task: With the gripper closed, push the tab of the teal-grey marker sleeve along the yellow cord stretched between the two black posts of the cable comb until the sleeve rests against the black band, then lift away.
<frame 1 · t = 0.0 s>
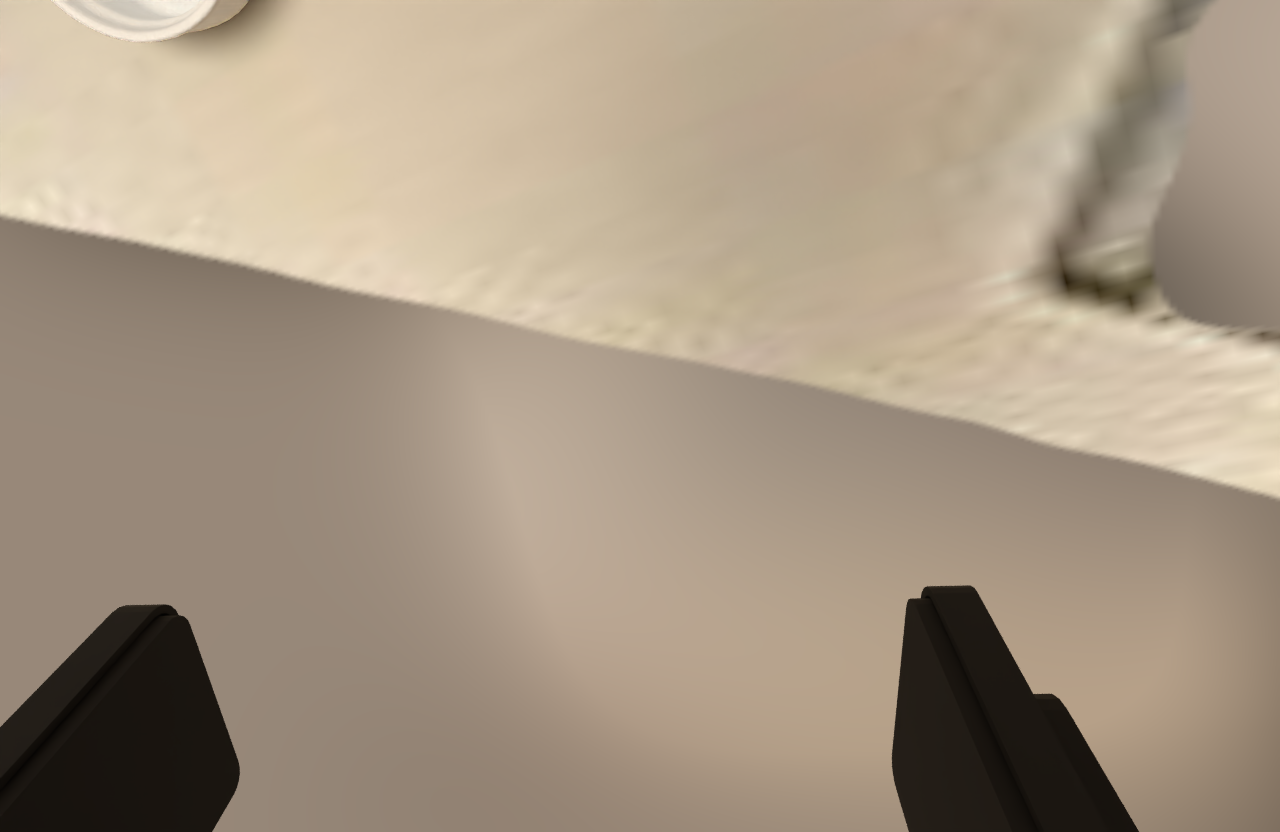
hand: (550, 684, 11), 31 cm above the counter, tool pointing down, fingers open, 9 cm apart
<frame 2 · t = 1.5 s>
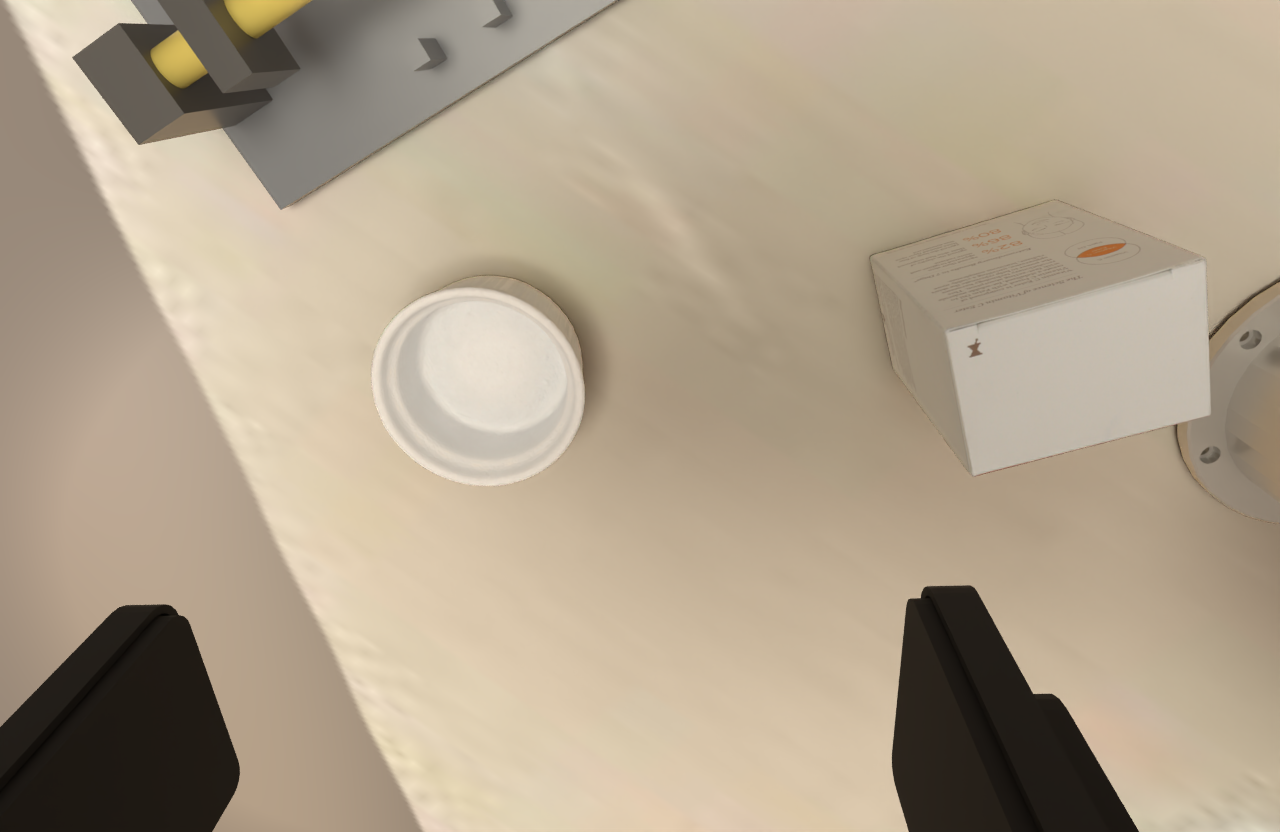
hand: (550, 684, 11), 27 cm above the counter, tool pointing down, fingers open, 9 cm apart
ramekin: (498, 354, 38), on the counter
small box: (969, 284, 36), on the counter
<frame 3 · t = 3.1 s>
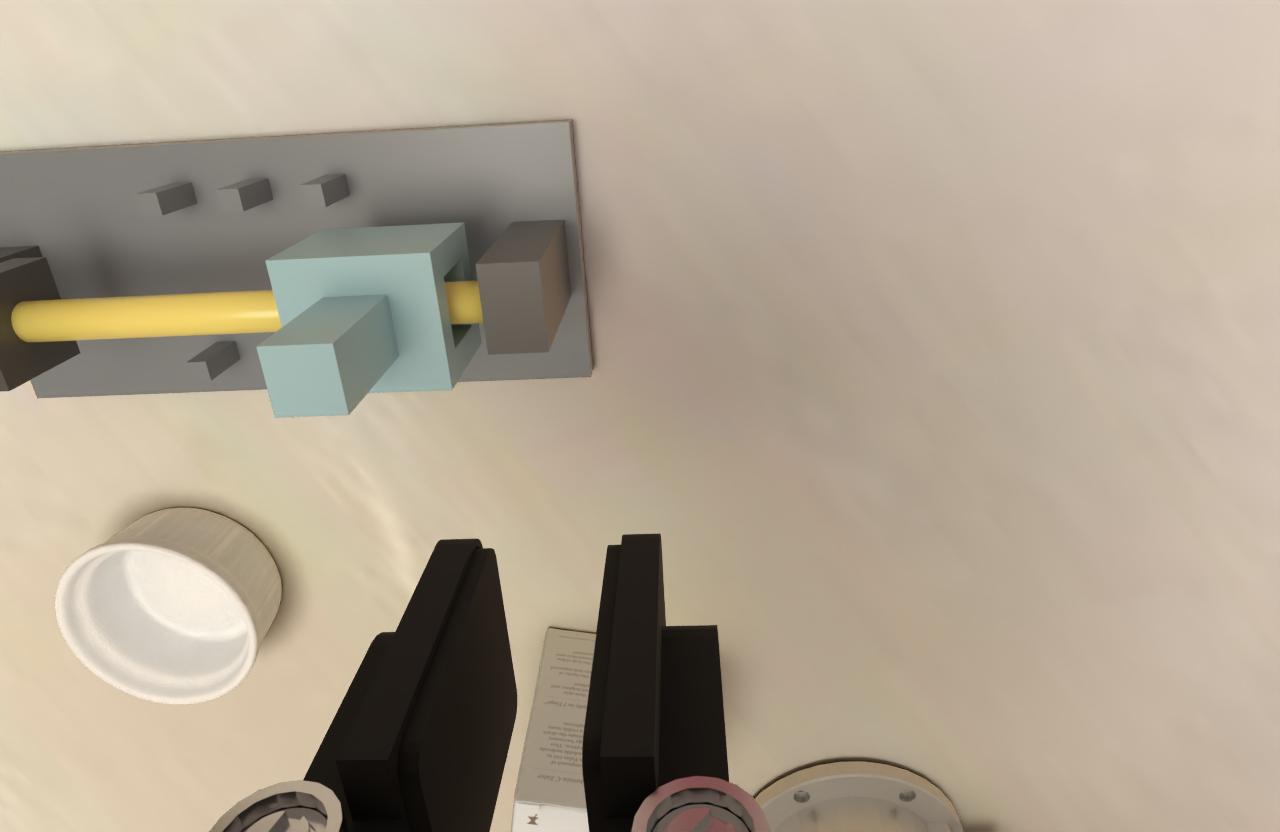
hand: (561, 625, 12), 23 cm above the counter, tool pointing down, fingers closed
cable comb: (291, 265, 34), on the counter
ramekin: (207, 569, 41), on the counter
marker sleeve: (361, 327, 25), point 9 cm above the counter, slide at 0.0 cm
small box: (619, 674, 42), on the counter
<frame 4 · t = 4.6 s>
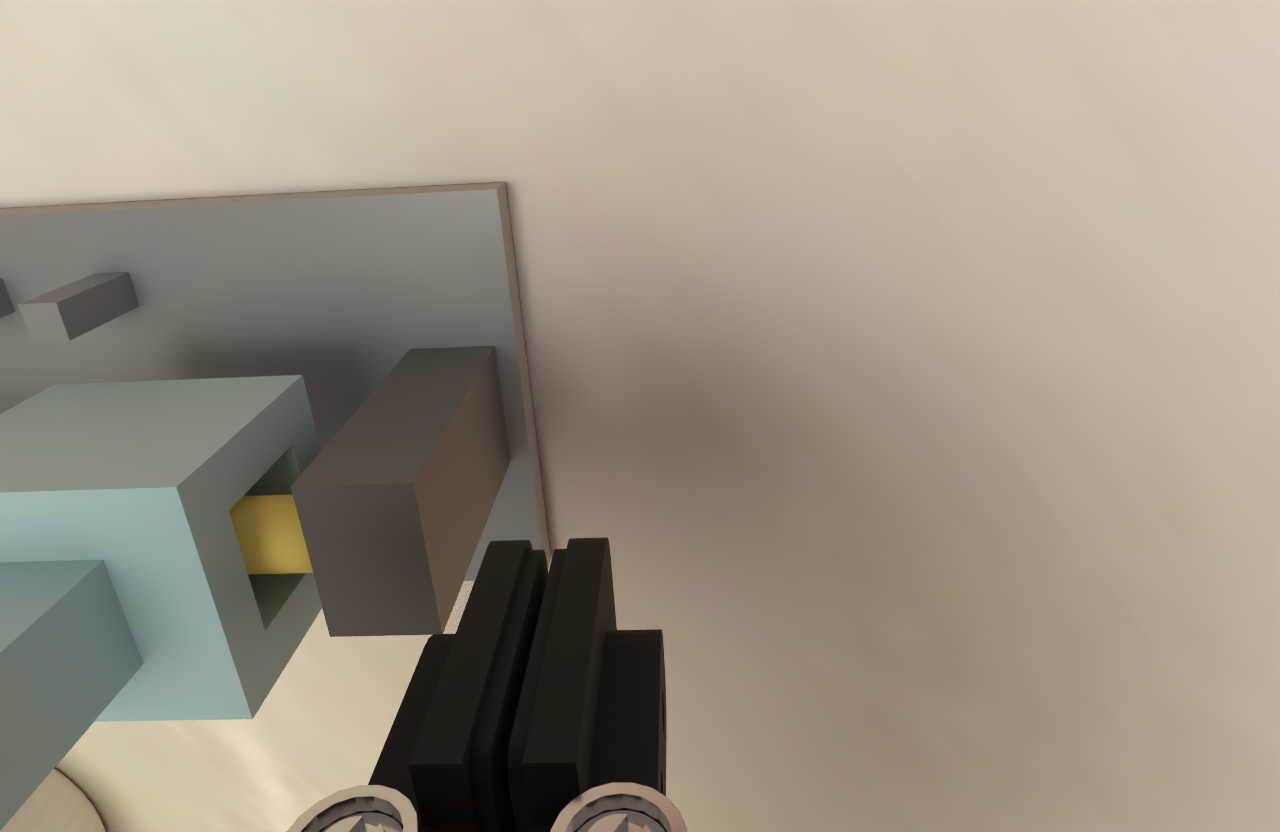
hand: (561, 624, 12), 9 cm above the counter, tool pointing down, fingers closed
cable comb: (68, 405, 21), on the counter
ramekin: (1, 811, 28), on the counter
marker sleeve: (62, 614, 13), point 9 cm above the counter, slide at 0.0 cm
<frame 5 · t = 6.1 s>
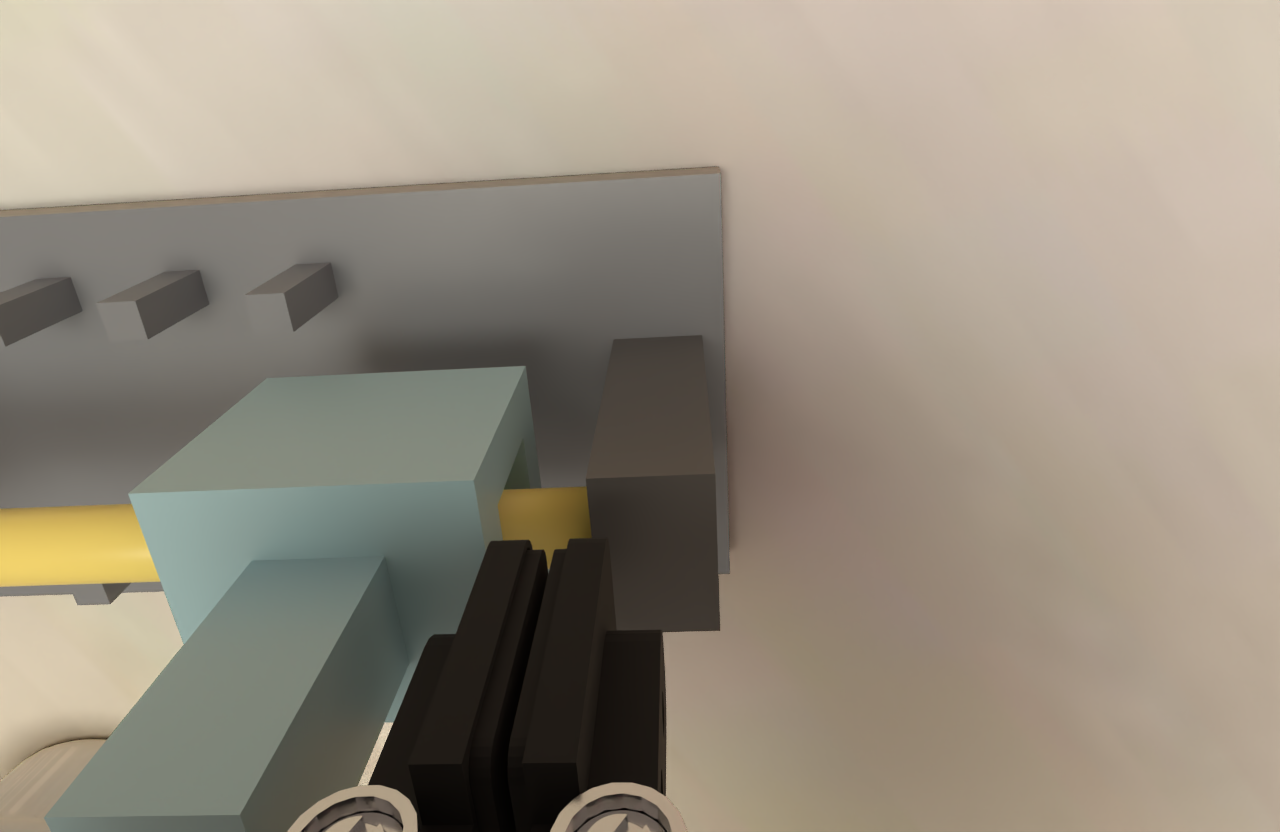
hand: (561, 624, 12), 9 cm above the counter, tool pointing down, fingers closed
cable comb: (245, 400, 21), on the counter
ramekin: (137, 814, 28), on the counter
marker sleeve: (332, 613, 12), point 9 cm above the counter, slide at 0.4 cm, touching gripper
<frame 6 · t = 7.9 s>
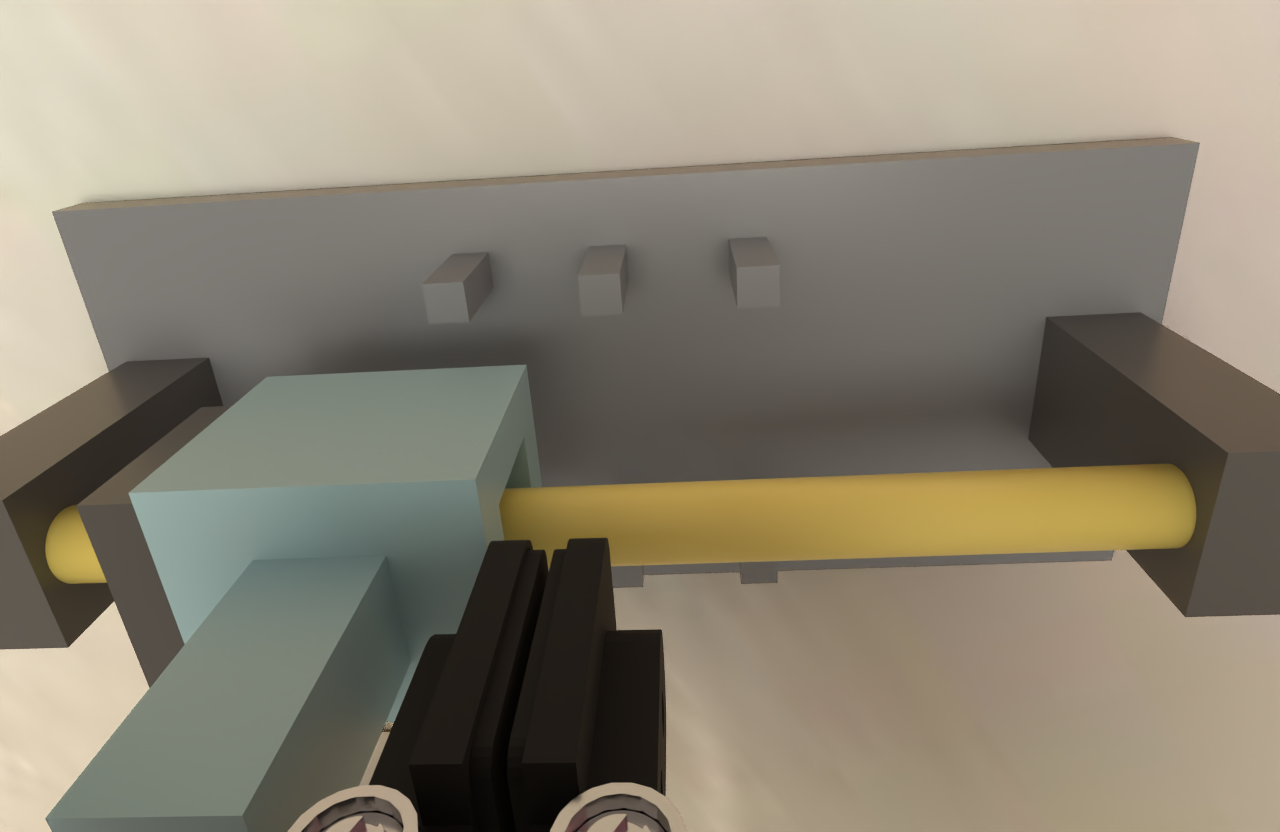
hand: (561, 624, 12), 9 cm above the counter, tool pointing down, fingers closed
cable comb: (622, 382, 20), on the counter
ramekin: (414, 808, 27), on the counter
marker sleeve: (333, 613, 12), point 9 cm above the counter, slide at 9.9 cm, touching cable comb, gripper
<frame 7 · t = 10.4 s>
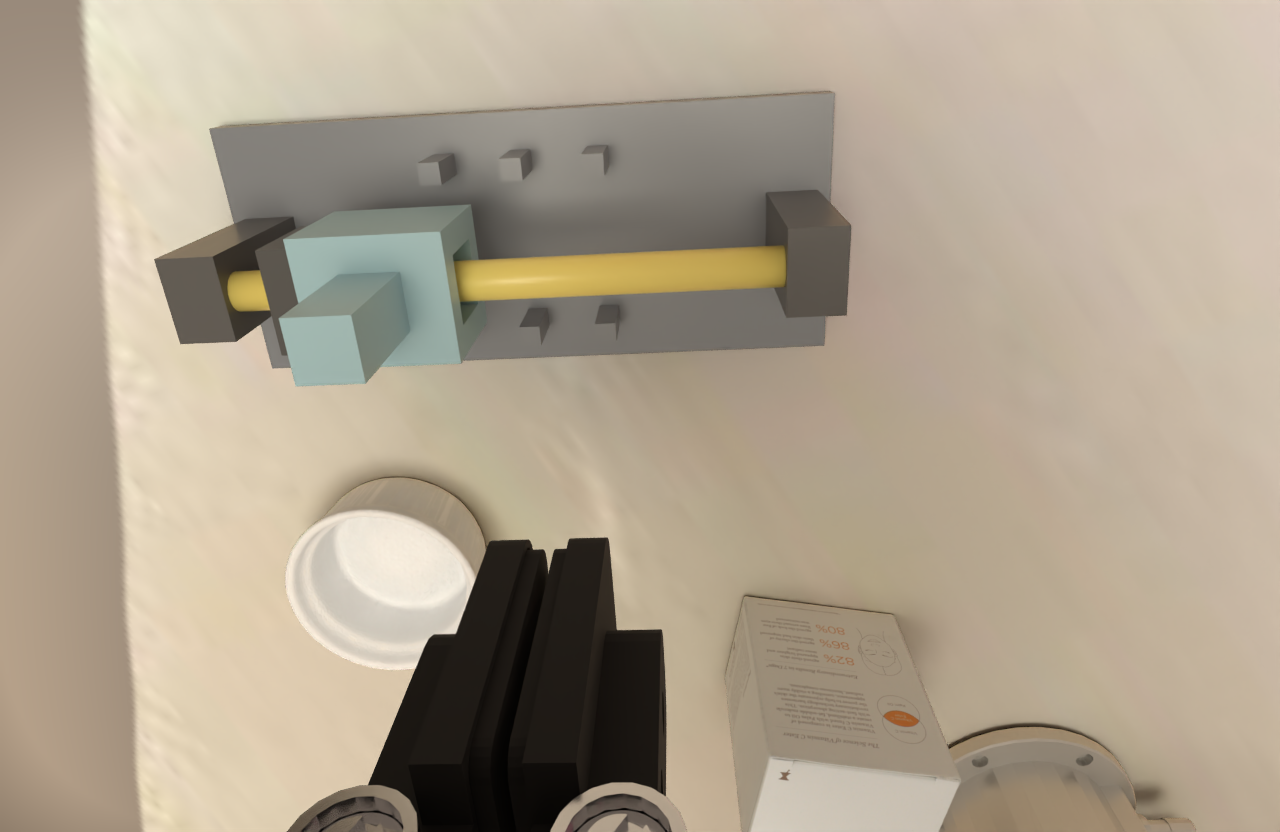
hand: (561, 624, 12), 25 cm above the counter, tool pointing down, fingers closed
cable comb: (534, 236, 34), on the counter
ramekin: (410, 539, 41), on the counter
marker sleeve: (374, 303, 27), point 9 cm above the counter, slide at 9.9 cm, touching cable comb
small box: (807, 641, 43), on the counter
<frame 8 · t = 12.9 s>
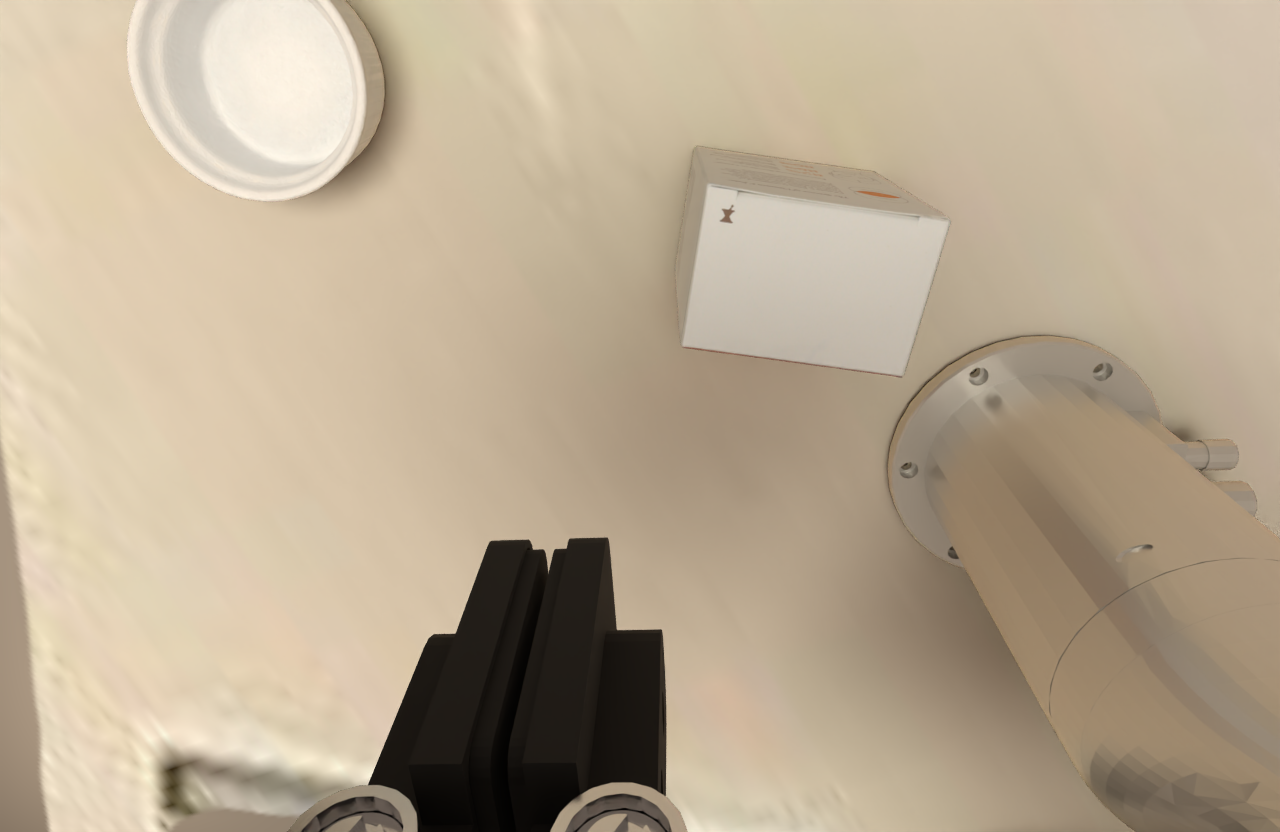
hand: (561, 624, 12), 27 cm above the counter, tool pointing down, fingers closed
ramekin: (296, 76, 35), on the counter
small box: (772, 220, 36), on the counter
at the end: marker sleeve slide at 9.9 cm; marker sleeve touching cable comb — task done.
